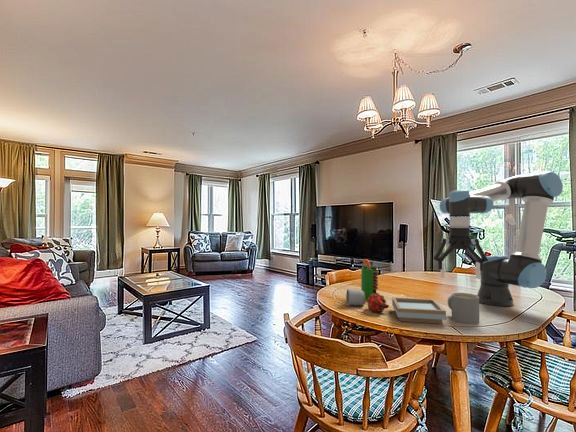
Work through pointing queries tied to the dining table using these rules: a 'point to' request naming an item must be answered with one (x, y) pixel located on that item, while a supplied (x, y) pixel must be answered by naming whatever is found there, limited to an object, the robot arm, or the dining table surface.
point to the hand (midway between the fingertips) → (460, 277)
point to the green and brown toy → (369, 279)
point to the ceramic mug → (355, 297)
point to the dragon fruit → (376, 302)
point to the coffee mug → (464, 307)
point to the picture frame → (419, 310)
